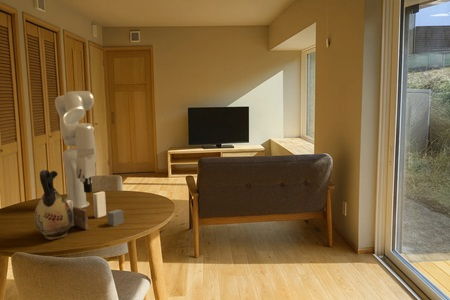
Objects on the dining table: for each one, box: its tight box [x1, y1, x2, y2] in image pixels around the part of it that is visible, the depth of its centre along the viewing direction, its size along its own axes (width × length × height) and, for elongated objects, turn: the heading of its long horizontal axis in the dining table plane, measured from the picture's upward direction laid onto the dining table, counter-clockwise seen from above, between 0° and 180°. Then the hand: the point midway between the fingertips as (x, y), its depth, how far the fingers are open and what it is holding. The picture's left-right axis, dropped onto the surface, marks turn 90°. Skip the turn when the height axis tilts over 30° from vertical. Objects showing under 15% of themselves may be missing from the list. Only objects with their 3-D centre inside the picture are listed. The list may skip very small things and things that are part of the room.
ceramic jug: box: [33, 169, 73, 240], centre depth 186 cm, size 17×15×30 cm
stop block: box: [106, 208, 125, 227], centre depth 203 cm, size 4×6×6 cm, turn 145°
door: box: [73, 206, 89, 230], centre depth 199 cm, size 3×13×9 cm, turn 45°
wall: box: [66, 191, 107, 227], centre depth 208 cm, size 3×24×12 cm, turn 146°
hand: (88, 192), depth 198 cm, fingers closed
